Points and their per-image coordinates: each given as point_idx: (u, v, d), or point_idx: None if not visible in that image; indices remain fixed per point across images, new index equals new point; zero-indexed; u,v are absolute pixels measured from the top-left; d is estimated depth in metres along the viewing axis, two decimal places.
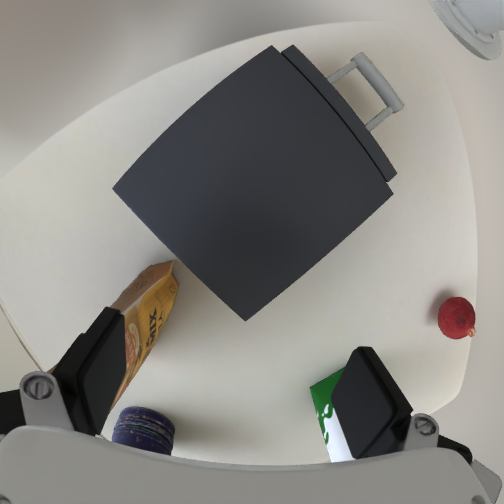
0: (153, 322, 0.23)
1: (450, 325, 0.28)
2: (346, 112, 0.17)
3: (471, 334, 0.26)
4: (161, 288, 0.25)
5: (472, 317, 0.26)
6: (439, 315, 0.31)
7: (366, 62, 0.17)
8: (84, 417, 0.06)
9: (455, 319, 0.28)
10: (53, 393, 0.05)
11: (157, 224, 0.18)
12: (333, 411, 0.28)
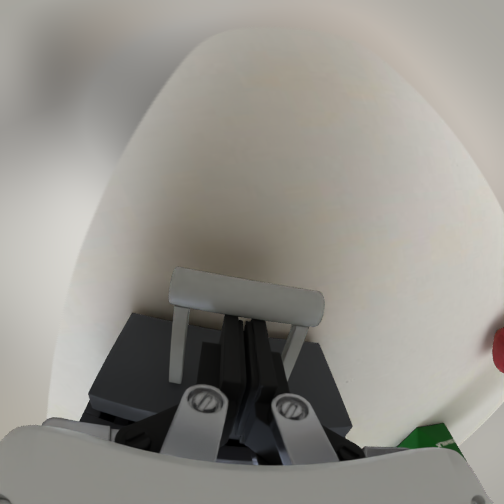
0: None
1: None
2: None
3: None
4: None
5: None
6: (493, 357, 0.20)
7: (193, 301, 0.10)
8: None
9: None
10: (224, 402, 0.06)
11: None
12: None
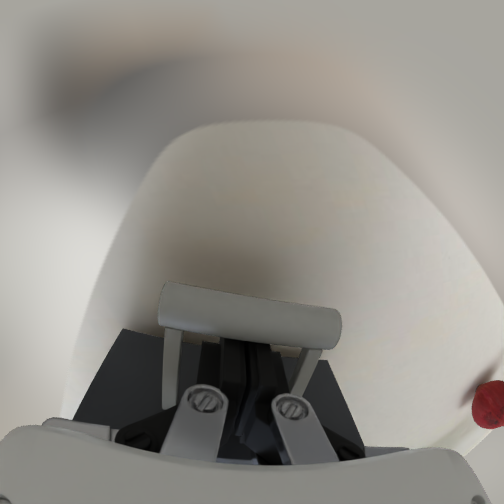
0: None
1: (483, 426, 0.17)
2: None
3: None
4: None
5: None
6: (472, 412, 0.20)
7: (187, 323, 0.08)
8: None
9: (486, 422, 0.16)
10: (224, 402, 0.06)
11: None
12: None
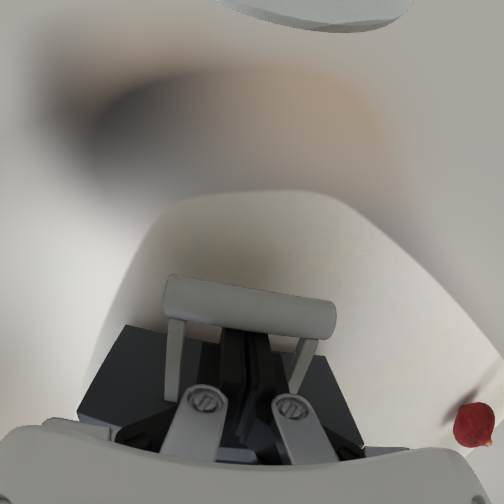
0: None
1: (463, 444, 0.18)
2: (227, 454, 0.09)
3: (487, 446, 0.16)
4: None
5: (486, 434, 0.16)
6: (453, 431, 0.21)
7: (190, 313, 0.09)
8: None
9: (466, 442, 0.18)
10: (224, 402, 0.06)
11: None
12: None
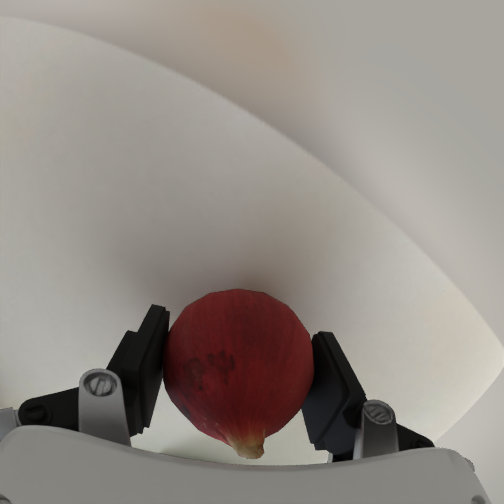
0: None
1: None
2: None
3: (244, 457, 0.06)
4: None
5: (213, 393, 0.07)
6: None
7: None
8: (139, 411, 0.07)
9: None
10: (117, 388, 0.06)
11: None
12: None
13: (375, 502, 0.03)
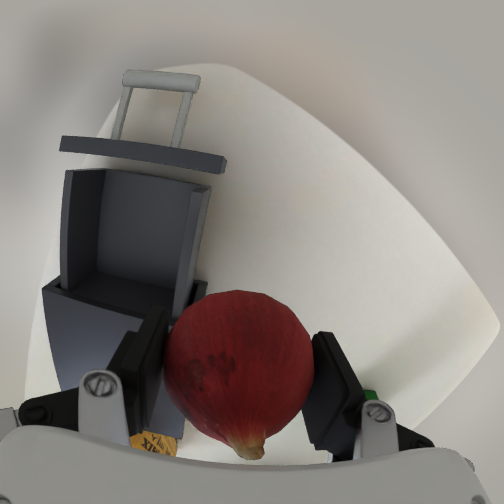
0: (148, 445, 0.27)
1: None
2: (132, 150, 0.16)
3: (245, 458, 0.06)
4: None
5: (214, 394, 0.07)
6: None
7: (133, 77, 0.16)
8: (139, 411, 0.07)
9: None
10: (117, 388, 0.06)
11: None
12: None
13: (375, 502, 0.03)
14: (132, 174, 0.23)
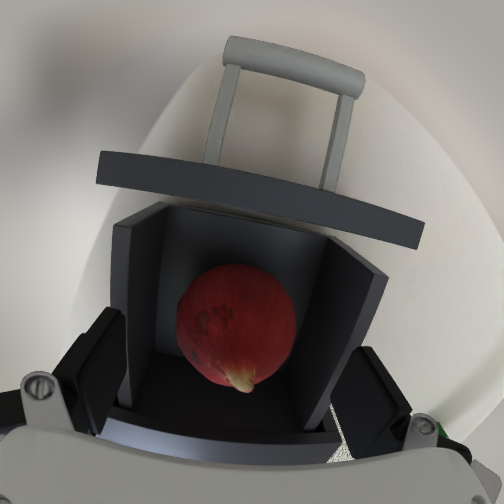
0: None
1: None
2: (279, 198, 0.09)
3: (239, 390, 0.09)
4: None
5: (216, 336, 0.10)
6: None
7: (249, 50, 0.09)
8: (85, 417, 0.06)
9: (183, 352, 0.12)
10: (54, 393, 0.05)
11: None
12: None
13: (375, 502, 0.03)
14: (218, 216, 0.15)
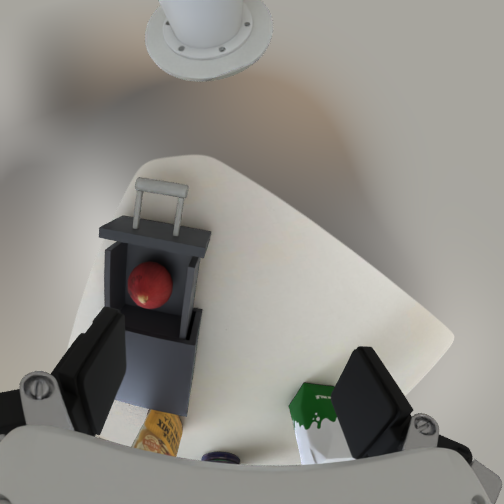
0: (162, 424, 0.40)
1: None
2: (149, 242, 0.29)
3: (141, 303, 0.29)
4: None
5: (136, 284, 0.30)
6: None
7: (142, 186, 0.28)
8: (84, 417, 0.06)
9: None
10: (53, 393, 0.05)
11: (126, 400, 0.35)
12: (295, 424, 0.41)
13: (375, 502, 0.03)
14: None
